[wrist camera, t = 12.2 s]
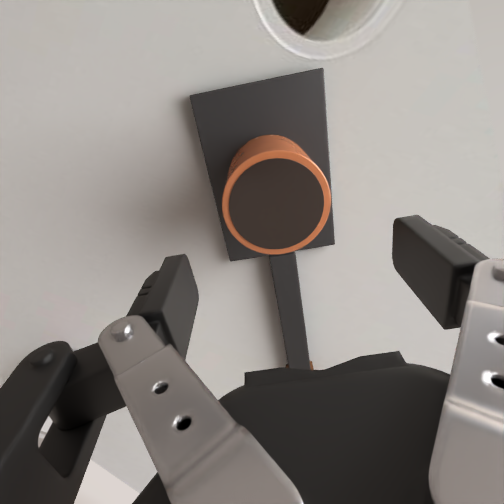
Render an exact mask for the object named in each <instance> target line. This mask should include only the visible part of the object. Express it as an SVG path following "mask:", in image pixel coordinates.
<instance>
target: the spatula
mask: <svg viewBox="0 0 504 504" xmlns="http://www.w3.org/2000/svg"><path fill="white" fill-rule="evenodd" d="M190 100H191V104H192V109H193V113H194V117H195V121H196V125H197V129H198V133H199V137H200V141H201V145H202V149H203V153H204V157H205V161H206V165H207V169H208V174H209V178H210V182H211V186H212V190H213V194H214V198H215V202H216V206H217V210H218V214H219V218H220V222H221V226H222V230H223V234H224V239H225V243H226V247H227V251H228V255H229V259H230V261H236V260H242V259H249V258H255V257H261V256H267V255H269V258H270V264H271V270H272V275H273V281H274V286H275V292H276V298H277V303H278V309H279V315H280V320H281V326H282V332H283V337H284V343H285V348H286V354H287V360H288V364H287V365H286V368H295V369H309V370H314V369H313V365H312V361H309V353H308V346H307V338H306V331H305V323H304V316H303V308H302V300H301V293H300V285H299V278H298V270H297V263H296V255H295V251H297V250H295V251H292V252H289V253H285V254H264V253H260V252H256V251H254V250H251V249H249V248H248V247H246V246H244V245H243V244H241V243H240V242H239V241H238V240H237V239H236V238H235V237H234V236H233V235H232V233H231V232H230V230H229V229H228V227H227V225H226V223H225V220H224V217H223V211H222V197H223V192H224V188H225V184H226V180H227V176H228V172H229V168H230V164H231V162H232V159H233V157H234V156H235V154H236V153H237V151H238V150H239V149H240V148H241V147H242V146H243V145H244V144H245V143H247V142H248V141H250V140H251V139H254V138H256V137H259V136H263V135H279V136H283V137H286V138H288V139H290V140H292V141H293V142H295V143H296V144H297V145H298V146H299V147H300V148H301V149H302V150H303V151H304V152H305V153H306V154H307V155H308V156H309V158H310V159H311V160H312V161H313V162H314V163H315V164H316V165H317V166H318V168H319V169H320V170H321V171H322V173H323V174H324V176H325V178H326V180H327V182H328V185H329V189H330V194H331V206H330V212H329V215H328V218H327V221H326V223H325V225H324V227H323V228H322V230H321V231H320V232H319V234H318V235H317V236H316V237H315V238H314V239H313V240H312V241H311V242H309V243H308V244H307V245H305V246H303V247H302V248H300V249H298V250H303V249H310V248H316V247H322V246H328V245H334V244H335V240H334V224H333V209H332V193H331V178H330V163H329V147H328V132H327V116H326V101H325V85H324V70H323V68H320V69H315V70H310V71H305V72H300V73H295V74H291V75H286V76H281V77H276V78H271V79H266V80H262V81H257V82H252V83H247V84H242V85H237V86H233V87H228V88H223V89H218V90H213V91H209V92H204V93H199V94H194V95H190Z"/></svg>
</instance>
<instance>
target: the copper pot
mask: <svg viewBox="0 0 504 504" xmlns="http://www.w3.org/2000/svg"><path fill="white" fill-rule="evenodd" d="M330 206H331V194H330V189H329V185H328V182H327V180H326V178H325V176H324V174H323V173H322V171H321V170H320V169H319V168H318V166H317V165H316V164H315V163H314V162H313V161H312V160H311V159H310V158H309V156H308V155H307V154H306V153H305V152H304V151H303V150H302V149H301V148H300V147H299V146H298V145H297V144H296V143H295V142H293V141H292V140H290V139H288V138H286V137H283V136H279V135H263V136H259V137H256V138H254V139H251V140H250V141H248V142H247V143H245V144H244V145H243V146H242V147H241V148H240V149H239V150H238V151H237V153H236V154H235V156H234V157H233V159H232V162H231V164H230V168H229V172H228V176H227V180H226V184H225V188H224V192H223V197H222V211H223V217H224V220H225V223H226V225H227V227H228V229H229V230H230V232H231V233H232V235H233V236H234V237H235V238H236V239H237V240H238V241H239V242H240V243H241V244H243V245H244V246H246V247H248V248H249V249H251V250H254V251H256V252H260V253H264V254H285V253H289V252H292V251H295V250H298V249H300V248H302V247H303V246H305V245H307V244H308V243H309V242H311V241H312V240H313V239H314V238H315V237H316V236H317V235H318V234H319V232H320V231H321V230H322V228H323V227H324V225H325V223H326V221H327V218H328V215H329V212H330Z"/></svg>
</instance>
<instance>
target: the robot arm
mask: <svg viewBox="0 0 504 504" xmlns="http://www.w3.org/2000/svg"><path fill="white" fill-rule="evenodd" d="M392 259H393V264H394V267H395V269H396V271H397V272H398V273H399V275H400V276H401V277H402V278H403V280H404V281H405V282H406V283H407V285H408V286H409V287H410V288H411V289H412V291H413V292H414V293H415V294H416V296H417V297H418V298H419V299H420V300H421V302H422V303H423V304H424V305H425V307H426V308H427V309H428V310H429V311H430V313H431V314H432V315H433V316H434V318H435V319H436V320H437V321H438V322H439V324H440V325H441V326H442V327H443V329H444V330H445V329H452V328H459V327H461V329H460V333H459V338H458V343H457V347H456V352H455V356H454V361H453V365H452V370H451V374H450V375H449V374H447V373H445V372H442V371H439V370H436V369H434V368H430V367H426V366H422V365H416V364H409V363H406V362H405V361H404V359H403V357H402V355H401V354H400V352H399V351H396V352H389V353H382V354H375V355H367V356H360V357H358V358H355V359H352V360H350V361H347V362H344V363H342V364H339V365H336V366H334V367H331V368H328V369H325V370H309V369H295V368H274V369H267V370H260V371H253V372H246V373H245V385H244V386H241V387H239V388H237V389H235V390H233V391H231V392H229V393H228V394H226V395H225V396H223V397H222V398H220V399H219V400H217V399H216V398H215V396H214V395H213V394H212V393H211V392H210V390H209V389H208V388H207V387H206V386H205V384H204V383H203V382H202V381H201V380H200V378H199V377H198V376H197V375H196V374H195V372H194V371H193V370H192V369H191V368H190V366H189V365H188V364H187V363H186V362H185V359H186V354H187V350H188V345H189V341H190V337H191V332H192V328H193V323H194V319H195V315H196V310H197V306H198V301H199V295H198V289H197V285H196V282H195V279H194V276H193V273H192V269H191V266H190V263H189V260H188V258H187V256H186V255H185V254H181V255H176V256H170V257H166V258H165V260H164V262H163V264H162V266H161V268H160V270H159V271H155V272H153V273H152V274H151V275H150V276H149V277H148V278H147V279H146V280H145V282H144V284H143V286H142V289H140V291H139V293H138V296H137V297H136V299H135V301H134V303H133V304H132V306H131V308H130V310H129V312H128V314H127V316H126V317H123V318H120V319H118V320H116V321H114V322H112V323H111V324H110V325H108V326H107V327H106V328H105V329H104V330H103V331H102V332H101V334H100V335H99V338H98V343H95V344H92V345H90V346H87V347H84V348H82V349H79V350H76V351H74V352H73V351H72V349H71V347H70V346H69V344H68V343H67V342H64V341H56V342H52V343H48V344H46V345H44V346H41V347H39V348H38V349H36V350H34V351H33V352H31V353H30V354H29V355H27V356H26V357H25V358H24V359H23V360H22V361H21V362H20V363H19V365H18V366H17V367H16V369H15V370H14V371H13V373H12V374H11V375H10V377H9V378H8V379H7V380H6V382H5V383H4V384H3V386H2V387H1V388H0V504H74V501H75V499H76V496H77V493H78V491H79V488H80V485H81V483H82V480H83V477H84V474H85V472H86V469H87V466H88V464H89V461H90V458H91V456H92V453H93V450H94V448H95V445H96V442H97V439H98V437H99V434H100V431H101V429H102V426H103V423H104V421H105V418H106V415H107V414H109V413H111V412H114V411H116V410H118V409H121V408H123V407H125V406H127V408H128V410H129V412H130V414H131V416H132V418H133V421H134V423H135V425H136V427H137V429H138V431H139V433H140V435H141V437H142V440H143V442H144V444H145V446H146V448H147V450H148V452H149V454H150V457H151V459H152V461H153V463H154V465H155V467H156V469H157V471H158V472H157V473H156V475H155V476H154V477H153V478H152V480H151V481H150V482H149V483H148V485H147V486H146V487H145V488H144V490H143V491H142V492H141V493H140V495H139V496H138V497H137V499H136V500H135V501H134V502H133V503H132V504H504V259H490V258H488V257H487V256H485V255H484V254H483V253H481V252H480V251H478V250H477V249H475V248H474V247H473V246H471V245H470V244H467V243H466V241H464V240H463V239H461V238H458V236H457V235H456V234H454V233H453V232H451V231H450V230H448V229H445V228H442V227H439V226H436V225H431V224H430V223H428V222H427V221H426V220H424V219H423V218H422V217H420V216H419V215H413V216H407V217H402V218H396V219H395V220H394V224H393V247H392ZM48 416H49V417H50V418H51V420H52V421H53V422H52V424H51V426H50V428H49V430H48V432H47V434H46V435H45V437H44V439H43V441H42V443H41V445H40V447H38V438H39V434H40V431H41V429H42V427H43V425H44V423H45V421H46V420H47V418H48Z"/></svg>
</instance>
